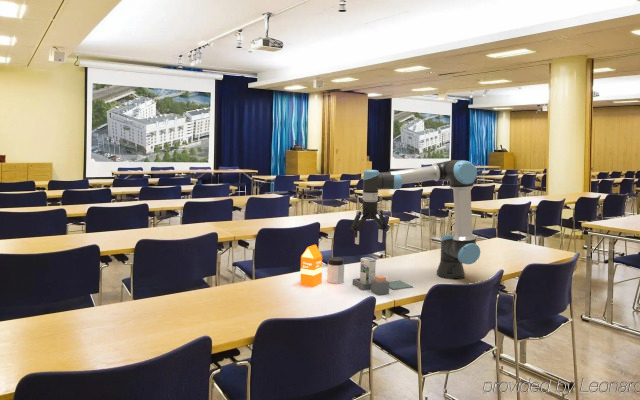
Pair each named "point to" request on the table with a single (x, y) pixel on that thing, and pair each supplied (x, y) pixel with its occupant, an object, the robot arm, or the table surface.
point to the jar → (335, 270)
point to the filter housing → (373, 286)
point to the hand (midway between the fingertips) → (368, 243)
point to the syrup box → (367, 270)
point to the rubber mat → (398, 285)
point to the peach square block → (380, 278)
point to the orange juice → (311, 267)
